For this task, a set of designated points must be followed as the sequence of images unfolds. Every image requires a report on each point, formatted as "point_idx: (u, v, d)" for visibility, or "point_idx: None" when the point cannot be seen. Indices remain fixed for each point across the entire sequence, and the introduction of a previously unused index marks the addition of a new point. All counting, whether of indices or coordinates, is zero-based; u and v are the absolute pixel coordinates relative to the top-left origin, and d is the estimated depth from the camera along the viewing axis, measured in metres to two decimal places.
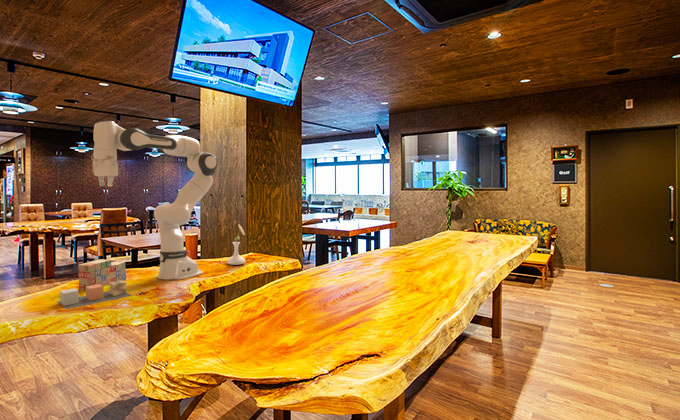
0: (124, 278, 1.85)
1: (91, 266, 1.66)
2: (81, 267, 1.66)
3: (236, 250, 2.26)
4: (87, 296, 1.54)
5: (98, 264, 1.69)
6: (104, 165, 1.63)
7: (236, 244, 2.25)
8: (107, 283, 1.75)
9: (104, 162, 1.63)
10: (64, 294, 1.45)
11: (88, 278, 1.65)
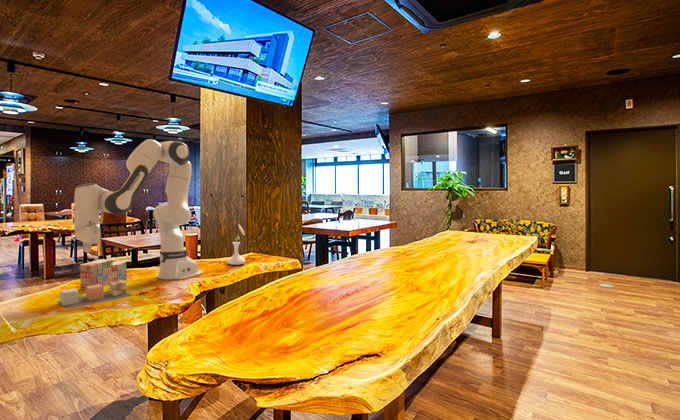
0: (125, 278, 1.86)
1: (93, 266, 1.66)
2: (83, 267, 1.66)
3: (236, 250, 2.26)
4: (87, 296, 1.54)
5: (100, 264, 1.70)
6: (85, 231, 1.55)
7: (236, 244, 2.25)
8: (108, 283, 1.75)
9: (85, 228, 1.54)
10: (64, 294, 1.45)
11: (90, 278, 1.66)
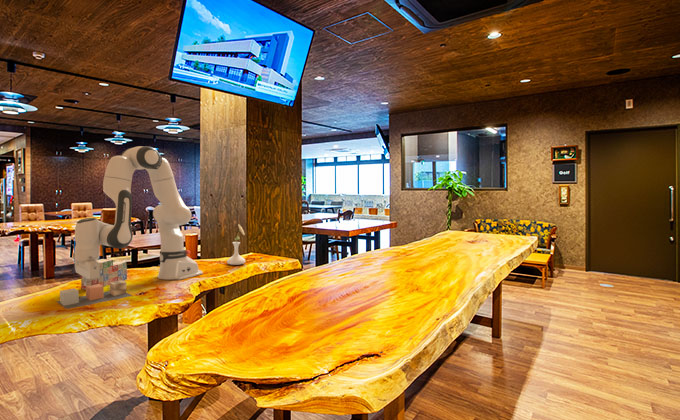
0: (125, 278, 1.86)
1: None
2: None
3: (236, 250, 2.26)
4: (87, 296, 1.54)
5: (100, 264, 1.70)
6: (85, 266, 1.56)
7: (236, 244, 2.25)
8: (109, 283, 1.76)
9: (85, 264, 1.55)
10: (64, 294, 1.45)
11: None
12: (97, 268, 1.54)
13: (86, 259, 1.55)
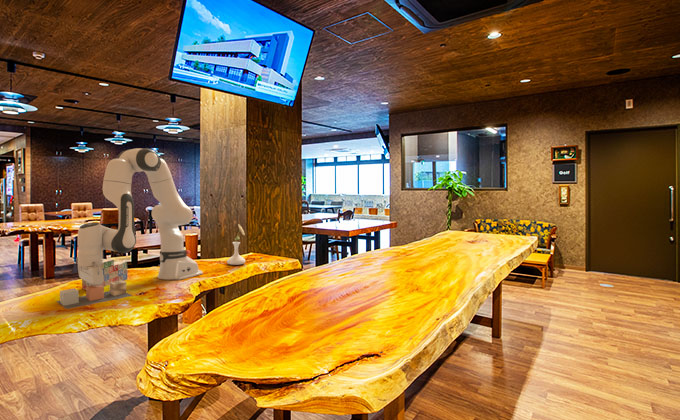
0: (126, 277, 1.86)
1: None
2: None
3: (236, 250, 2.26)
4: (87, 296, 1.53)
5: (101, 264, 1.70)
6: (89, 272, 1.54)
7: (236, 244, 2.25)
8: None
9: (88, 269, 1.53)
10: (64, 294, 1.45)
11: None
12: (100, 274, 1.51)
13: (89, 265, 1.53)
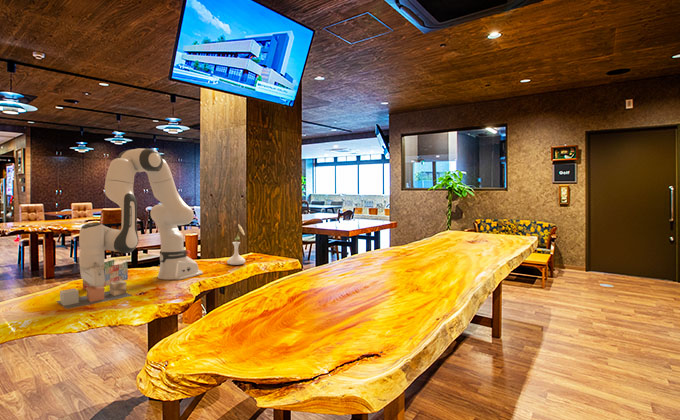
0: (126, 277, 1.87)
1: None
2: None
3: (236, 250, 2.26)
4: (88, 297, 1.52)
5: None
6: (90, 273, 1.51)
7: (236, 244, 2.25)
8: None
9: (90, 270, 1.50)
10: (64, 294, 1.45)
11: None
12: (102, 275, 1.49)
13: (91, 265, 1.51)
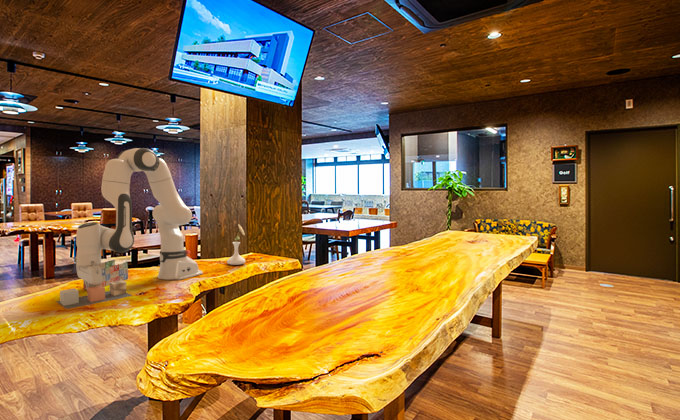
0: (126, 277, 1.87)
1: None
2: None
3: (236, 250, 2.26)
4: (88, 297, 1.52)
5: (103, 263, 1.71)
6: (87, 271, 1.55)
7: (236, 244, 2.25)
8: None
9: (87, 269, 1.55)
10: (64, 294, 1.45)
11: None
12: (99, 273, 1.53)
13: (88, 264, 1.55)
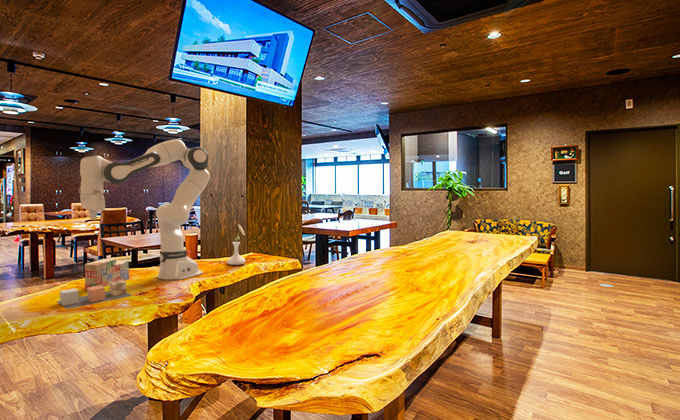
0: (127, 277, 1.87)
1: (98, 265, 1.67)
2: (88, 266, 1.67)
3: (236, 250, 2.26)
4: (88, 297, 1.52)
5: (104, 263, 1.71)
6: (91, 199, 1.68)
7: (236, 244, 2.25)
8: None
9: (91, 196, 1.67)
10: (64, 294, 1.45)
11: (95, 277, 1.67)
12: (102, 200, 1.66)
13: (92, 192, 1.67)
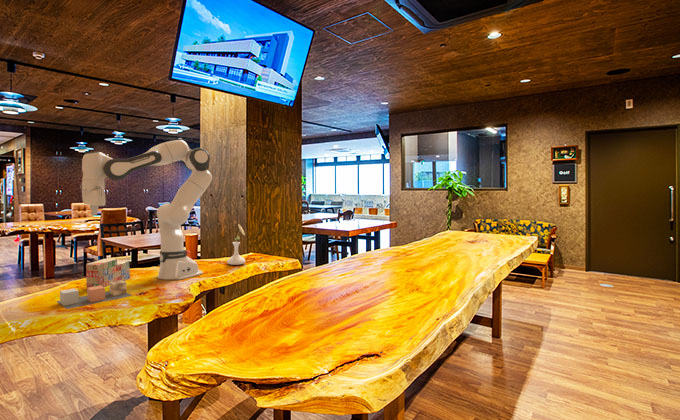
0: (128, 277, 1.88)
1: (99, 265, 1.68)
2: (89, 266, 1.67)
3: (236, 250, 2.26)
4: (88, 297, 1.52)
5: (105, 263, 1.72)
6: (92, 195, 1.71)
7: (236, 244, 2.25)
8: None
9: (92, 192, 1.70)
10: (64, 294, 1.45)
11: (97, 277, 1.67)
12: (103, 195, 1.69)
13: (93, 188, 1.70)
